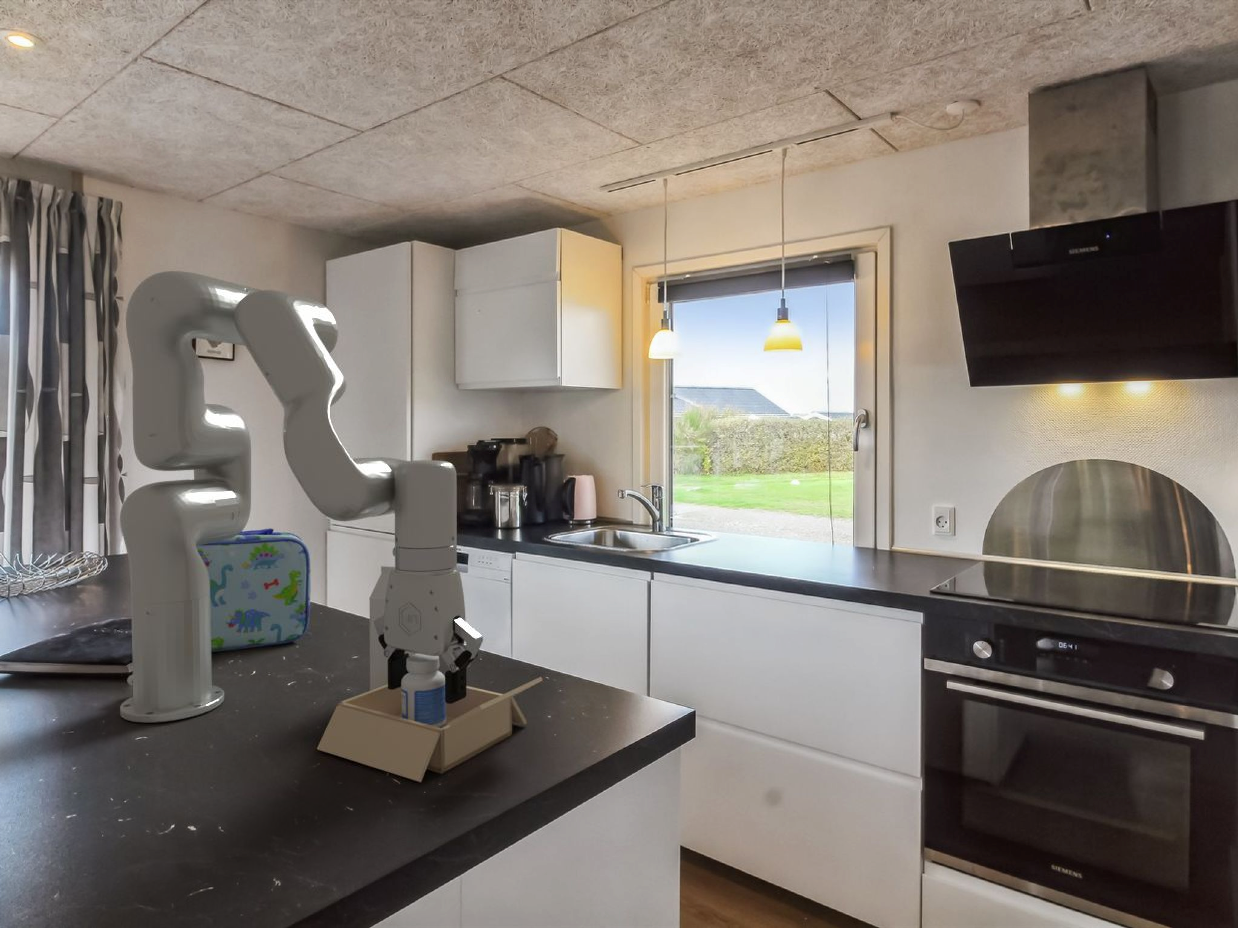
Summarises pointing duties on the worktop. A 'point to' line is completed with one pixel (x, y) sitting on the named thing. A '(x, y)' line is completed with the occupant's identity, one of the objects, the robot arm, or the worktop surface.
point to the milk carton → (376, 650)
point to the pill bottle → (424, 691)
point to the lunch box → (257, 589)
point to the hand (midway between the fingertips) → (426, 693)
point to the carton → (415, 732)
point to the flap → (494, 701)
